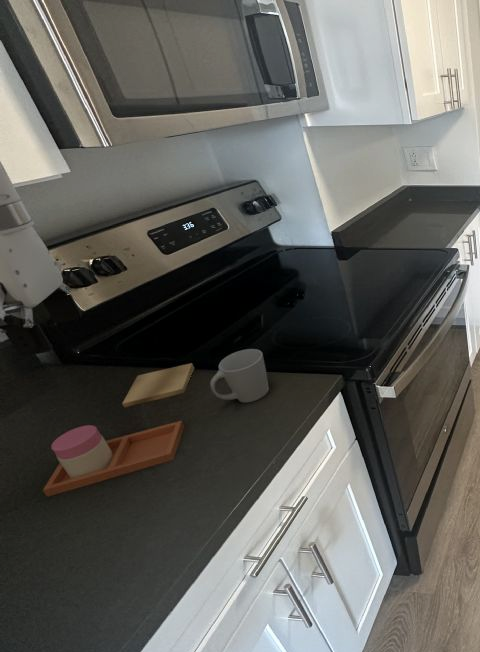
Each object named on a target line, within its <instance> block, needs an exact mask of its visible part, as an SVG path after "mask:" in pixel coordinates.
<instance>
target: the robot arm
mask: <svg viewBox="0 0 480 652" xmlns="http://www.w3.org/2000/svg"><path fill="white" fill-rule="evenodd" d="M33 226H35V222H34V221H33V218H32V217H31V215H30V213H29V211H28V209H27V207H26V206H25V204H24V201H23V200H22V199H21V196H20V195H19V193H18V191H17V190H16V188H15V186H14V184H13V181H12V180H11V178H10V177H9V175H8V172H7V171H6V169H5V167H4V165H3V163H2V161H0V333H2V334H5V336H6V337H7V339H8V340H9V342H10V344H11V345H12V346H13V348H14V349H15V351H16V352H17V354H18V356H20V357H28V356H34V355H38V354H44V353H48V352H49V353H50V351H52V349H53V348H54V347H53V345H52V344H51V342H50V340H49V338H48V337H47V335H46V333H45V332H44V330H43V328H42V327H41V325H40V324H39V323H34V312H33V308H35V307H37V306H38V305H39V304H40V303H43V305H44V307H45V309H46V311H47V312H48V314H49V316H50V318H51V319H52V321H53V322H54V323H55V324H60V323H61V324H62V323H66V322H71V321H77V320H80V319H81V318H82V317H83V313H82V312H81V310H80V308H79V307H78V305H77V303H76V301H75V298H74V297H73V295H72V294H71V293H72V292H71V288H70V286H68V285H67V283H66V281H67V278H66V276H65V275H64V274H63V270H62V267H61V263H60V261H59V260H54V257H53V256H52V254H51V253H50V250H49V249H48V247H47V246H46V245H45V243H44V241H43V240H42V238H41V237H40V236H39V234H38V232H37V231H36V230H35V228H34V227H33ZM15 313H20V317H18V316H16V315H14V314H15Z"/></svg>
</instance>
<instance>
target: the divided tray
mask: <svg viewBox="0 0 480 652" xmlns="http://www.w3.org/2000/svg"><path fill="white" fill-rule="evenodd" d="M184 430H185V424H184V422H183V421H182V420H178V421H175V422H171V423H167V424H164V425H160V426H156V427H153V428H149V429H144V430H141V431H137V432H134V433H130V434H126V435H122V436H119V437H115V438H111V439H107V440H105V441H106V443H107V445H108V446H109V448H110V450H111V451H112V453H113V454H114V457H113V459H112V461H111V463H110V465H109V467H108V468H106V469H104V470H101V471H97V472H94V473H90V474H87V475H83V476H80V477H76V478H73V479H71V478H70V476H69V475H68V473H67V472H66V471H65V469H64V468H63V466H62V465H61V463H60V462H59V464H58V465H57V467H56V468H55V470H54V471H53V473H52V475H51V476H50V477H49V479H48V481H47V483H46V484H45V486H44V487H43V489H42V492H43V493H44V494H45V496H46V497H47V498H48V497H51V496H55V495H59V494H62V493H65V492H68V491H72V490H76V489H78V488H82V487H85V486H88V485H92V484H95V483H99V482H102V481H105V480H109V479H112V478H116V477H119V476H122V475H127V474H130V473H132V472H133V473H134V472H135V471H140V470H143V469H146V468H150V467H153V466H156V465H159V464H164V463H166V462H170V461H174V460H175V456H176V453H177V450H178V448H179V445H180V442H181V438H182V435H183V433H184Z"/></svg>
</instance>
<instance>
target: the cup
mask: <svg viewBox="0 0 480 652" xmlns="http://www.w3.org/2000/svg"><path fill="white" fill-rule="evenodd" d="M263 354H264V353H263V352H262V351H261V350H260V349H257V348H247V349H242V350H239V351H235V352H233V353H230V354H229V355H227V356H226V357H224V358H223V359H221V361H220V362H219V364H218V370H217V372H216V374H214V375H213V377H212V378H211V379H210V390H211V392H212V393H213V394H214V395H215V396H216V397H217V398H218V399H221V400H226V401H229V400H230V401H232V400H237V401H238V402H240V403H252V402H256V401H258V400H260V399H261V398H263V397H264V396H266V395H267V393H268V392H269V390H270V388H269V381H268V373H267V369H266V363H265V360H264V355H263ZM222 378H223V379H224V380H225V382H226V384H227V385H228V387H229V388H230V390H231V393H227V394H220V393H218V392H217V390H216V383H217V381H218V380H220V379H222Z"/></svg>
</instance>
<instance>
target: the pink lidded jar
mask: <svg viewBox="0 0 480 652" xmlns="http://www.w3.org/2000/svg"><path fill="white" fill-rule="evenodd" d="M106 441H107V440H106V439H105V438H104V436H103V435H102V434H101V433H100V431H99V430H98V427H96V426H95V425H92V424H87V425H82V426H79V427H75V428H73V429H70V430H69V431H66V432H65V433H63V434H61V435H59V436H58V437H57V438H55V440H54V441H53V442H52V444H51V447H50V448H51V450H52V451H53V453H54V454H55V457H56V460H57V461H58V462H59V464H60V463H61V465H62V466H63V468H64V469H65V471H66V472H67V473H68V475H69V476H70V478H71V479H73V478H76V477H80V476H83V475H87V474H90V473H94V472H97V471H101V470H104V469H106V468H108V467H109V465H110V463H111V461H112V459H113V457H114V454H113V453H112V451H111V450H110V448H109V446H108V445H107V443H106Z"/></svg>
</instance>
